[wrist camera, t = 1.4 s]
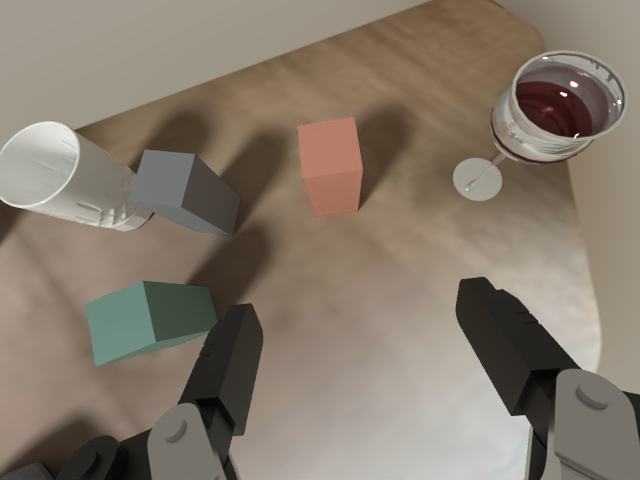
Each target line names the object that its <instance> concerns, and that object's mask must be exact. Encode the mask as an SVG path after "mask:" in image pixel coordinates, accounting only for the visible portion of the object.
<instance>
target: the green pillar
mask: <svg viewBox="0 0 640 480" xmlns="http://www.w3.org/2000/svg"><path fill="white" fill-rule="evenodd" d="M86 309H87V315H88V322H89V328H90V335H91V341H92V347H93V354H94V360H95V367H96V366H100V365H104V364H107V363H111V362H115V361H119V360H122V359H126V358H130V357H134V356H138V355H141V354H145V353H149V352H153V351H157V350H160V349H164V348H168V347H172V346H176V345H179V344H182V343H185V342H187V341H189V340H192V339H194V338H197V337H199V336H202V335H204V334H207V333H209V331H210V330H211V329H212V328H213V327H214V326H215V324H216V323H217V322H218V319H217V315H216V312H215V308H214V305H213V301H212V297H211V294H210V290H209V287H202V286H192V285H182V284H171V283H161V282H150V281H141V282H138V283H136V284H133V285H131V286H129V287H126V288H124V289H121V290H119V291H116V292H114V293H111V294H109V295H106V296H104V297H101V298H99V299H96V300H94V301H92V302H89V303H87V304H86Z"/></svg>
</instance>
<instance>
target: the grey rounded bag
mask: <svg viewBox="0 0 640 480" xmlns="http://www.w3.org/2000/svg"><path fill="white" fill-rule="evenodd" d="M0 480H54V479H53V478H52V476H51V475H50V474H49V472H48V471H47V470H46V468H45V467H44V466H43V464H42V463H32V464H29V465H27V466H24V467H22V468H19V469H17V470H15V471H12V472H10V473H8V474H6V475H3V476H1V477H0Z"/></svg>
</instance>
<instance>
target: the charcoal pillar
mask: <svg viewBox="0 0 640 480" xmlns="http://www.w3.org/2000/svg"><path fill="white" fill-rule="evenodd" d="M128 201H130V202H132V203H134V204H136V205H139V206H141V207H143V208H145V209H147V210H150V211H152V212H154V213H156V214H158V215H161V216H163V217H165V218H167V219H169V220H172V221H174V222H176V223H178V224H180V225H183V226H185V227H187V228H189V229H191V230H194V231H197V232H205V233H213V234H220V235H228V236H233V232H234V227H235V223H236V218H237V214H238V210H239V205H240V201H241V198H240V197H239V196H238V195H237V194H236V193H235V192H234V191H233V190H232V189H231V188H230V187H229V186H228V185H227V184H226V183H225V182H224V181H223V180H222V179H221V178H219V177H218V176H217V175H216V174H215V173H214V172H213V171H212V170H211V169H210V168H209V167H208V166H207V165H206V164H205V163H204V162H203V161H202V160H201V159H200V158H199V157H198V156H197V155H196V154H189V153H178V152H167V151H156V150H144V153H143V156H142V159H141V162H140V166H139V169H138V172H137V175H136V178H135V181H134V184H133V188H132V191H131V194H130V197H129V200H128Z"/></svg>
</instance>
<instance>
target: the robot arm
mask: <svg viewBox="0 0 640 480" xmlns="http://www.w3.org/2000/svg"><path fill="white" fill-rule="evenodd" d="M456 317H457V320H458V323H459V325H460V327H461V329H462V330H463V332H464V334H465V336H466V337H467V339H468V341H469V343H470V344H471V346H472V348H473V350H474V352H475V353H476V355H477V357H478V359H479V360H480V362H481V364H482V366H483V367H484V369H485V371H486V373H487V375H488V376H489V378H490V380H491V382H492V383H493V385H494V387H495V389H496V390H497V392H498V394H499V396H500V397H501V399H502V401H503V403H504V405H505V406H506V408H507V410H508V412H509V413H510V415H511V416H519V415H525V416H526V417H527V419H528V421H529V422H530V424H531V426H530V430H529V439H528V449H527V458H526V468H525V478H524V480H640V395H639V394H634V393H629V392H625V391H621V390H620V389H619V388H617V387H616V386H615V385H614V384H612V383H611V382H609V381H608V380H606V379H605V378H603V377H601V376H599V375H597V374H594V373H592V372H589V371H586V370H582V369H581V368H580V367H579V366H578V365H577V364H576V363H575V362H574V361H573V359H572V358H571V357H570V356H569V355H568V354H567V353H566V352H565V351H564V349H563V348H562V347H561V346H560V345H559V344H558V343H557V342H556V341H555V339H554V338H553V337H552V336H551V335H550V334H549V333H548V332H547V330H546V329H545V328H544V327H543V326H542V325H541V324H539V323H538V320H537V319H536V318H535V317H534V316H533V315H532V314H530V313H529V310H528V309H527V308H526V307H525V306H524V305H523V304H522V303H521V302H520V300H519V299H518V298H516V297H514V296H513V295H511V294H510V293H508V292H506V291H505V290H503V289H501V290H496V289H495V288H494V287H493V285H492V284H491V283H490V282H489V281H488V279H486V278H485V277H477V278H468V279H462V280H461V281H460V283H459V289H458V296H457V302H456ZM262 346H263V331H262V327H261V325H260V322H259V320H258V317H257V315H256V312H255V310H254V307H253V305H252V304H251V303H249V304H240V305H232V306H231V307H230V308H229V311H228V313H227V316H226V318H225V320H219V321H218V322H217V323H216V324H215V326H214V327H213V328H212V329H211V330H210V331H209V333H208V336H207V338H206V340H205V343H204V347H202V349H201V352H200V354H199V358H198V359H197V361H196V363H195V366H194V368H193V370H192V373H191V375H190V377H189V380H188V382H187V384H186V387H185V389H184V391H183V394H182V396H181V398H180V400H179V402H178V404H177V405H176V406H174V407H173V408H171V409H169V410H168V411H167V412H165V413H164V414H163V415H162V416H161V417H160V418H159V420H158V421H157V422H156V424H155V425H154V427H153V428H151V429H149V430H147V431H145V432H142V433H140V434H138V435H135V436H133V437H131V438H128V439H126V440H124V441H121V442H118V441H117V440H116V439H115V438H113V437H112V436H108V435H107V436H100V437H97V438H95V439H93V440H91V441H89V442H88V443H86V444H85V445H84V446H82V447H81V448H80V449H79V450H78V451H77V452H75V453H74V454H73V456H72V457H71V458H70V459H69V460H68V461H67V463H66V464H65V465H64V467H63V468H62V470H61V471H60V473H59V475H58V476H57V478H56V480H241V478H240V476H239V473H238V471H237V468H236V465H235V463H234V460H233V458H232V455H231V453H230V450H229V448H230V444H231V440H232V436H242V435H244V432H245V427H246V422H247V417H248V413H249V408H250V403H251V398H252V394H253V389H254V384H255V379H256V374H257V370H258V365H259V360H260V355H261V351H262Z"/></svg>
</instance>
